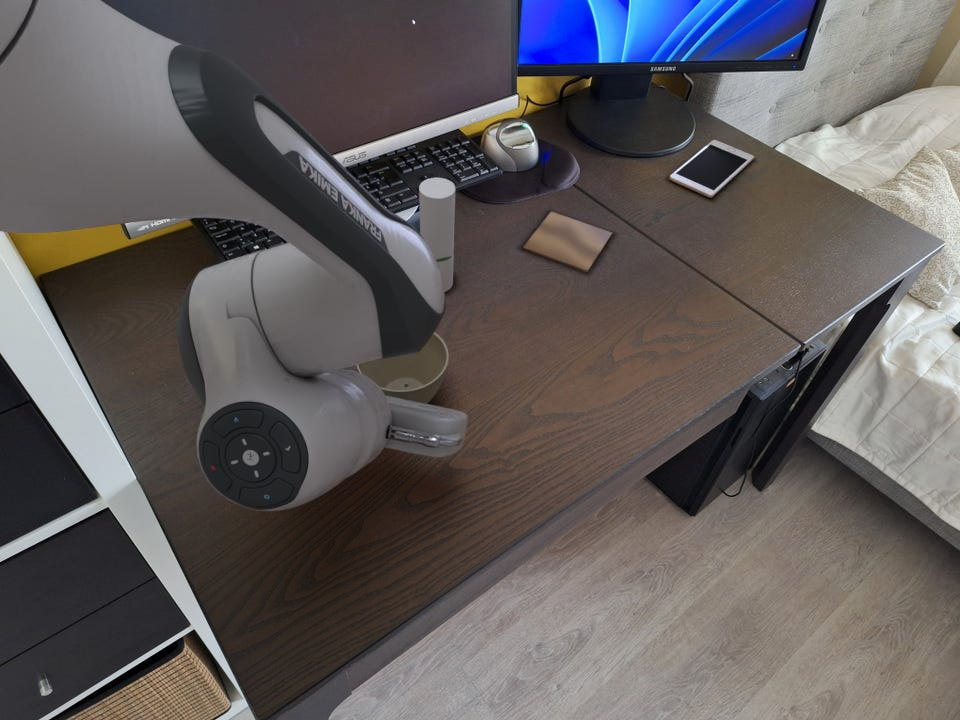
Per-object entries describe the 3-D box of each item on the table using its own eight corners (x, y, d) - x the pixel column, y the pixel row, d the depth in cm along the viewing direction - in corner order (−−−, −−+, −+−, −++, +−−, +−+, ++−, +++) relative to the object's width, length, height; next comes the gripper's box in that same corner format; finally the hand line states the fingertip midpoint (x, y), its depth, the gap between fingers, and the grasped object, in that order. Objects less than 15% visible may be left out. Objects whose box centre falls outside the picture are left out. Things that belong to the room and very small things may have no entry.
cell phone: (754, 159, 115) (755, 156, 115) (711, 198, 107) (712, 195, 106) (713, 142, 118) (714, 139, 118) (668, 179, 110) (669, 176, 109)
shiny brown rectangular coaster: (587, 273, 93) (587, 270, 93) (522, 249, 96) (523, 246, 96) (612, 234, 99) (612, 232, 99) (550, 213, 102) (551, 211, 102)
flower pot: (442, 360, 81) (442, 318, 76) (453, 427, 75) (454, 386, 69) (359, 368, 80) (353, 326, 74) (363, 436, 73) (357, 396, 68)
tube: (415, 287, 90) (412, 192, 78) (429, 268, 92) (428, 174, 81) (444, 296, 89) (446, 202, 77) (457, 277, 91) (461, 183, 80)
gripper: (463, 410, 55) (482, 394, 69) (230, 362, 57) (294, 356, 71) (449, 484, 55) (471, 453, 69) (219, 434, 58) (284, 414, 71)
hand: (380, 404), depth 70 cm, fingers closed
